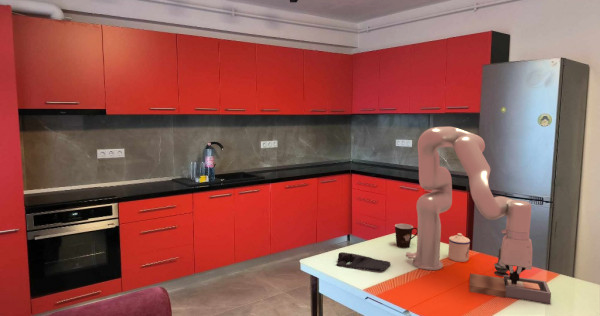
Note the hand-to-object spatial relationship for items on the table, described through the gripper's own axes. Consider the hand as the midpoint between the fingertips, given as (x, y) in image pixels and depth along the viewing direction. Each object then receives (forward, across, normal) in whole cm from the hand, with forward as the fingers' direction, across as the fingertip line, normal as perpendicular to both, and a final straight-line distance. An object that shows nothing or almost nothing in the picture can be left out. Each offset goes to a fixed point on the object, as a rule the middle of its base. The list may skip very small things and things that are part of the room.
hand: (513, 282), depth 152 cm
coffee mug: (+4, -44, +36) cm, 57 cm away
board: (+4, -9, 0) cm, 10 cm away
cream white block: (+3, +1, 0) cm, 3 cm away
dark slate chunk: (+4, -58, +5) cm, 58 cm away
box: (+4, +4, 0) cm, 6 cm away
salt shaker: (+4, -3, +17) cm, 18 cm away
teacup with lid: (+4, -20, +30) cm, 36 cm away
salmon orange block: (+3, +6, 0) cm, 7 cm away
